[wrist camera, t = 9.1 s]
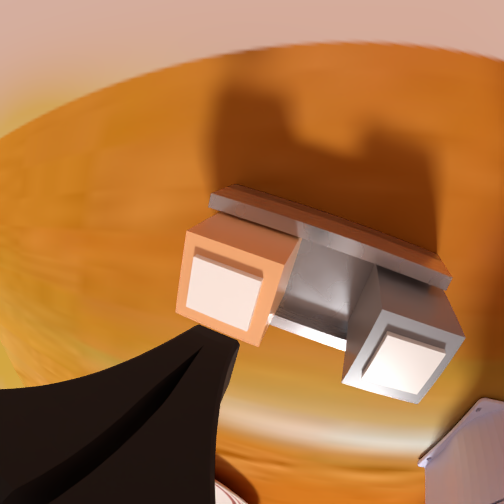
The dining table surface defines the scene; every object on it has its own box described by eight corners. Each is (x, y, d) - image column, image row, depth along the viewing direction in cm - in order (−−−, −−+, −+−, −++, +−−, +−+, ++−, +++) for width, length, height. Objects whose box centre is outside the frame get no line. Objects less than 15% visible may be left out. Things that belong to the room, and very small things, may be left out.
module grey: (408, 342, 16) (418, 408, 11) (347, 322, 17) (340, 387, 12) (440, 284, 14) (467, 342, 10) (375, 260, 15) (382, 313, 10)
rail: (391, 344, 18) (394, 377, 15) (214, 281, 20) (191, 304, 17) (437, 254, 15) (452, 277, 12) (235, 183, 17) (211, 193, 14)
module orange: (284, 294, 17) (256, 351, 13) (218, 270, 18) (172, 315, 13) (305, 228, 16) (282, 268, 11) (232, 204, 17) (182, 232, 12)
